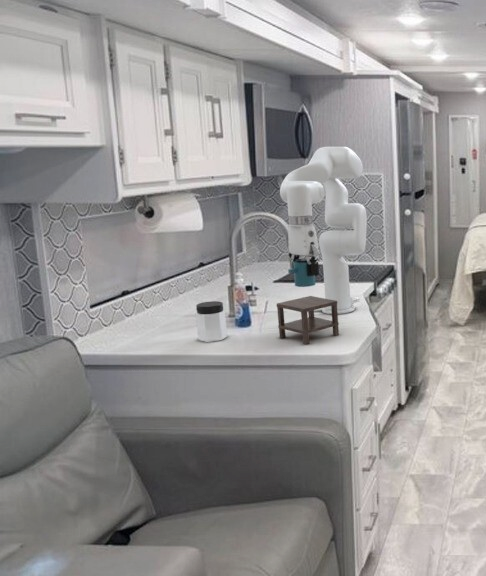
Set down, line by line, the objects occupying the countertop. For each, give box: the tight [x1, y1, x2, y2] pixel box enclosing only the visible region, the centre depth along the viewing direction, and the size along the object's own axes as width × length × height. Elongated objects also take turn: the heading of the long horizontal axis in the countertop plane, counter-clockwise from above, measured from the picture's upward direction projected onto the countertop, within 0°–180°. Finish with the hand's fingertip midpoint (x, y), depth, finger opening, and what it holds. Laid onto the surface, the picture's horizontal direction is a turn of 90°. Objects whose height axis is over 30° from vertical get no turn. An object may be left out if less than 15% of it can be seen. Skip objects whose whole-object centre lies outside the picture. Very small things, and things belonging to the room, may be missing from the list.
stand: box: [276, 295, 340, 345], centre depth 226 cm, size 14×14×12 cm
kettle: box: [287, 257, 320, 288], centre depth 222 cm, size 11×7×9 cm, turn 145°
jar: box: [195, 300, 228, 343], centre depth 224 cm, size 9×8×12 cm
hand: (304, 273), depth 222 cm, fingers closed on kettle, 6 cm apart
